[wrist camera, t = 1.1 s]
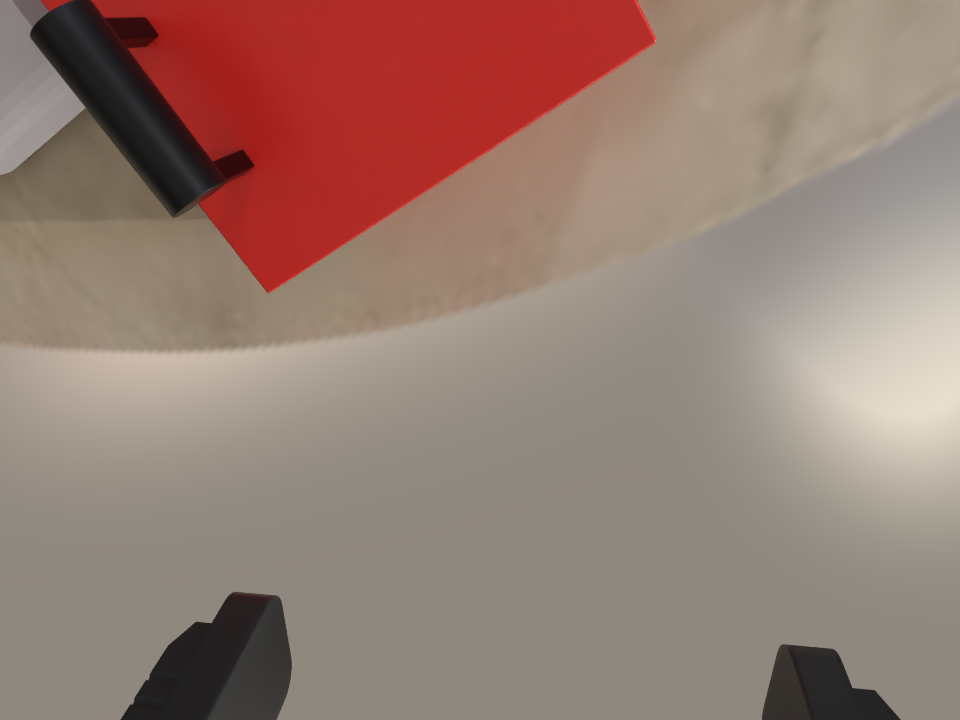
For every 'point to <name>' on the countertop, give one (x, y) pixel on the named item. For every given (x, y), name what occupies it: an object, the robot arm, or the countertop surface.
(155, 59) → the red box lid
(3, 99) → the charger
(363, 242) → the countertop surface
